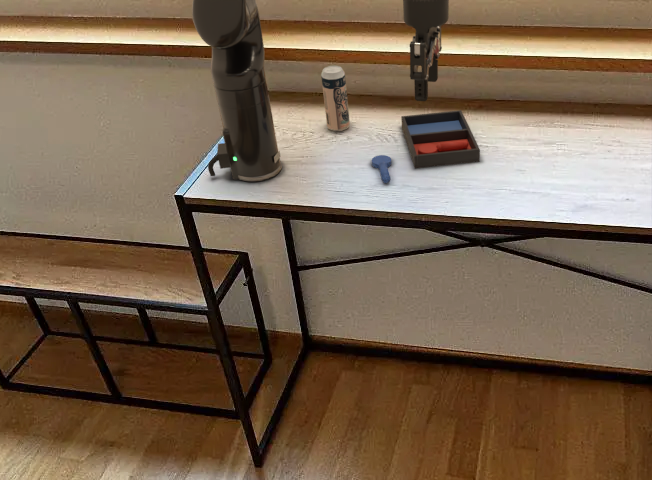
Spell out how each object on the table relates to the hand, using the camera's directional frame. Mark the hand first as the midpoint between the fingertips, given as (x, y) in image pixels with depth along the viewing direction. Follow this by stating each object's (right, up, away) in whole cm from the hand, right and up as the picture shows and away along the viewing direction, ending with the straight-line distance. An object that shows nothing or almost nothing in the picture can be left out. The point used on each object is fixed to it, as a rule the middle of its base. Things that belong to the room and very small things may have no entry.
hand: (426, 90), depth 126 cm
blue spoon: (-8, -12, +8) cm, 17 cm away
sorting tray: (+3, -5, +15) cm, 16 cm away
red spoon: (+4, -7, +11) cm, 14 cm away
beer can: (-18, +1, +22) cm, 28 cm away
